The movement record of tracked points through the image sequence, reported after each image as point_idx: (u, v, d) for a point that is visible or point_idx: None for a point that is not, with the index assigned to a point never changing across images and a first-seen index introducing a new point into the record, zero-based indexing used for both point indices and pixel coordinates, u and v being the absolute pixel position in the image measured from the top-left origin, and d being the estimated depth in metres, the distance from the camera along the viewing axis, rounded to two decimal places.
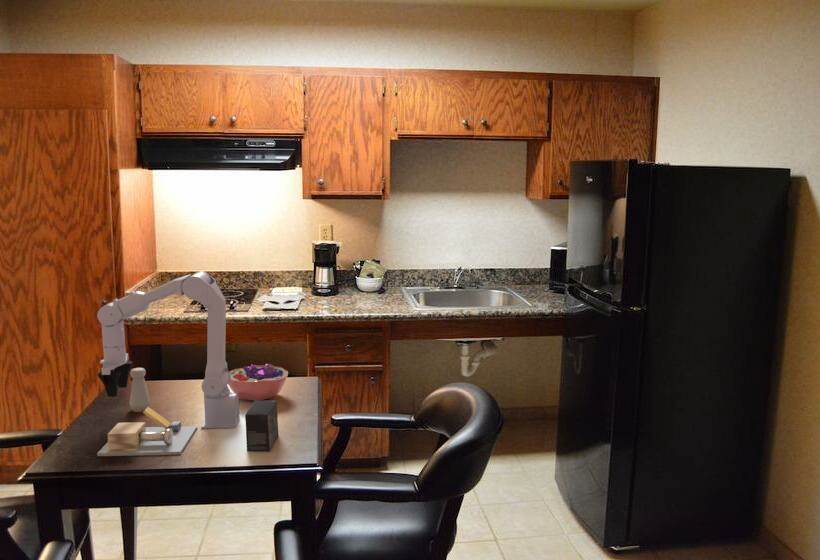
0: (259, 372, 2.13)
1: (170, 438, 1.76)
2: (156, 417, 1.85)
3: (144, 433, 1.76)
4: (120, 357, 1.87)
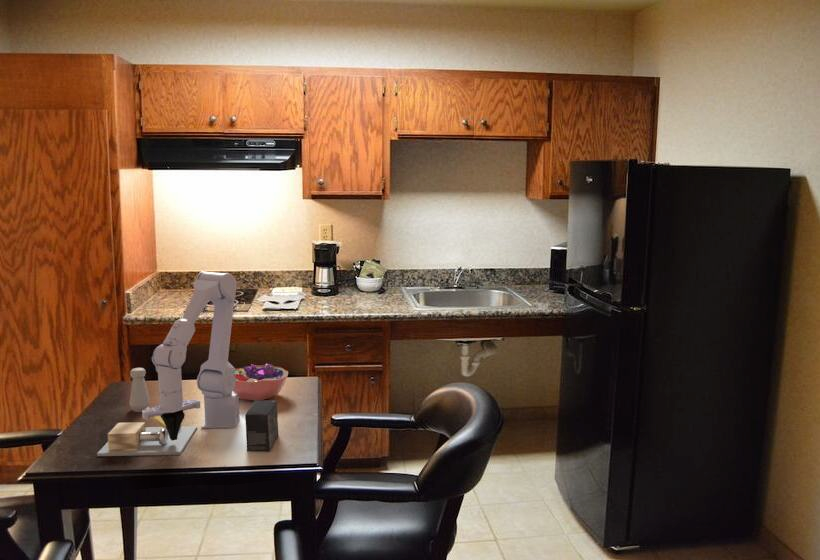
0: (259, 372, 2.13)
1: (165, 438, 1.76)
2: (156, 417, 1.85)
3: (139, 433, 1.76)
4: (166, 404, 1.73)
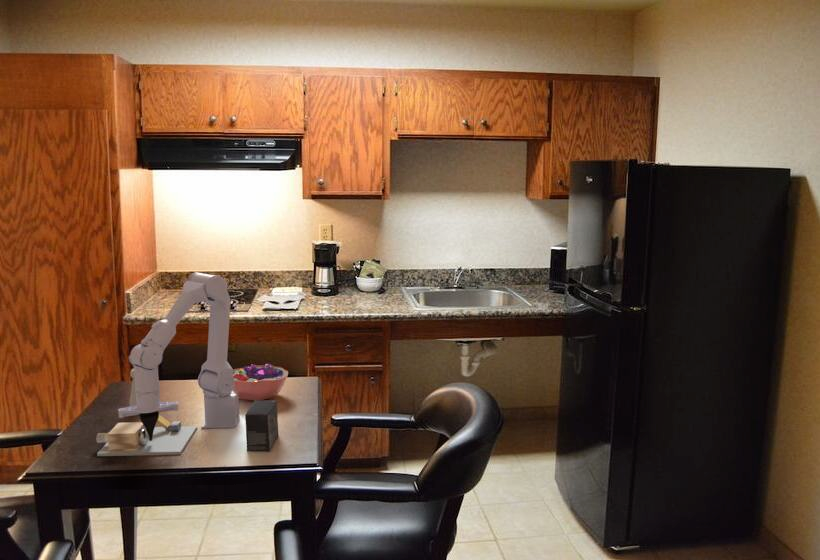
0: (259, 372, 2.13)
1: (144, 438, 1.76)
2: None
3: None
4: (140, 404, 1.72)
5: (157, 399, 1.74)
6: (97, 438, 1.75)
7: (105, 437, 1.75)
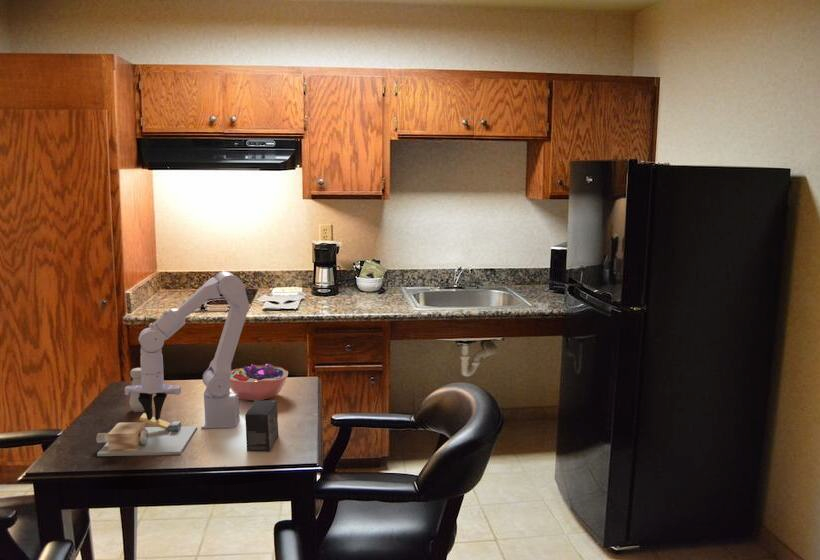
0: (259, 372, 2.13)
1: (144, 438, 1.76)
2: (153, 420, 1.85)
3: None
4: (143, 385, 1.82)
5: (158, 381, 1.82)
6: (97, 438, 1.75)
7: (105, 437, 1.75)
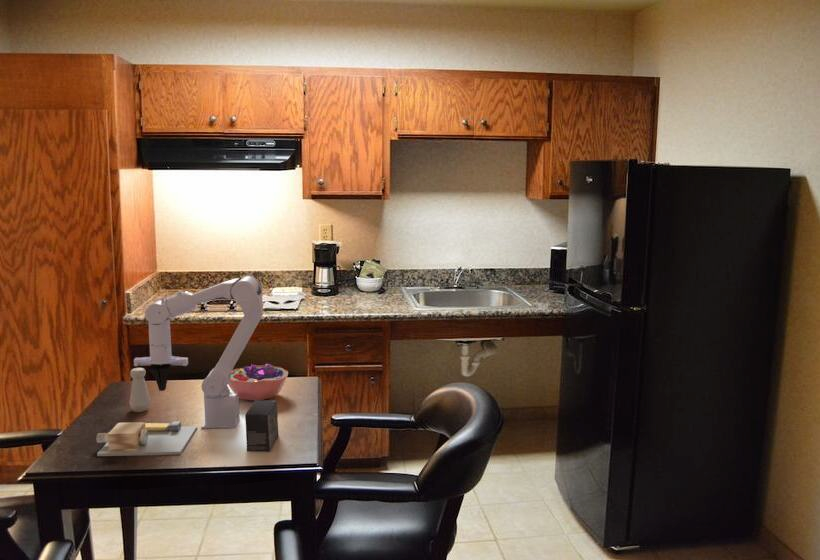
0: (259, 372, 2.13)
1: (144, 438, 1.76)
2: (152, 426, 1.85)
3: None
4: (151, 356, 1.87)
5: (167, 353, 1.88)
6: (97, 438, 1.75)
7: (105, 437, 1.75)
